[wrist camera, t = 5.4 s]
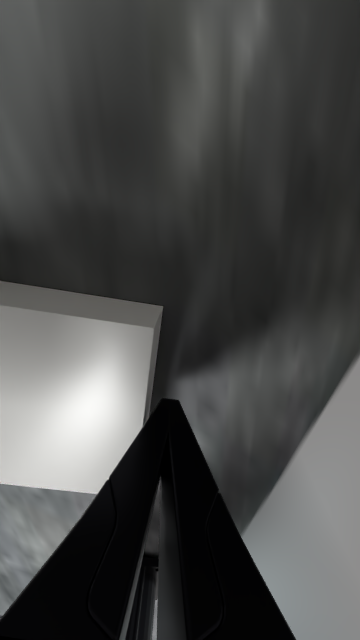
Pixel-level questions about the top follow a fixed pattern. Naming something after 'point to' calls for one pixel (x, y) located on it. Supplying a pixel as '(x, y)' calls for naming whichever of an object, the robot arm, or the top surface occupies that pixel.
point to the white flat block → (71, 384)
